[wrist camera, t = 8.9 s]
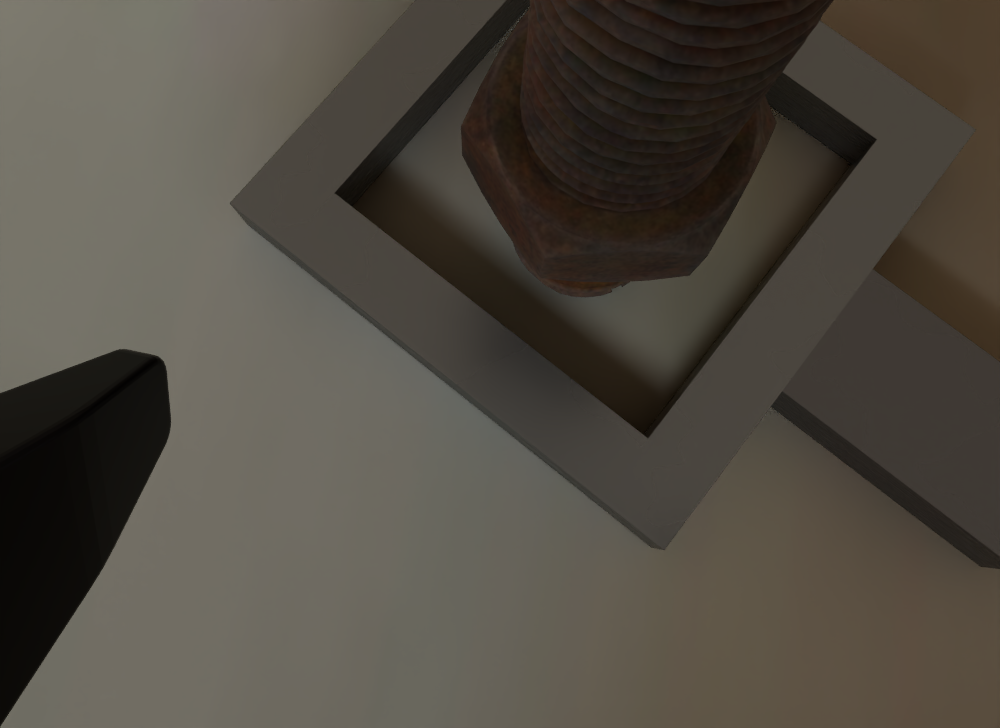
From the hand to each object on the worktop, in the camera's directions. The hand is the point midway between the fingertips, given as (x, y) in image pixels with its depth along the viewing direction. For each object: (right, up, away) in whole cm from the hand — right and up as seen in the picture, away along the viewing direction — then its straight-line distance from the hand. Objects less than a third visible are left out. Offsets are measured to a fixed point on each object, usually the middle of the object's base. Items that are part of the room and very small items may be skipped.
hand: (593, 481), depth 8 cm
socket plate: (+3, +3, +9) cm, 11 cm away
